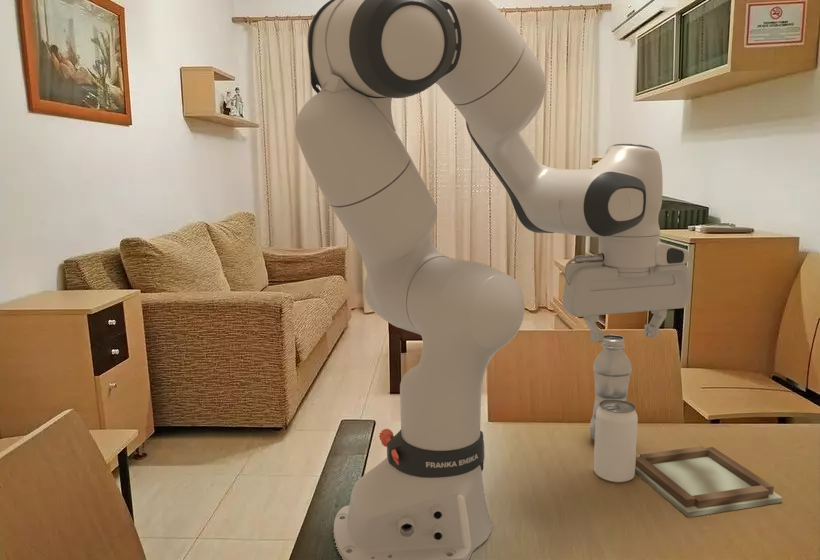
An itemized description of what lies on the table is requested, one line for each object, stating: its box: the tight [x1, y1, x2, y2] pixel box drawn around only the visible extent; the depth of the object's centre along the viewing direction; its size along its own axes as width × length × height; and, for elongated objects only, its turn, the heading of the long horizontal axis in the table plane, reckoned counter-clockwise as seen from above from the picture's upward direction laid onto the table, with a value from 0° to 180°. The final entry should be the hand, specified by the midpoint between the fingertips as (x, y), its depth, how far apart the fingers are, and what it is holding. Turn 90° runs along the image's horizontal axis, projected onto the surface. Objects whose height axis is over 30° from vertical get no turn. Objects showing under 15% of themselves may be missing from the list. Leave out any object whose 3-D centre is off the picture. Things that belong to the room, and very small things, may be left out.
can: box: [593, 399, 639, 484], centre depth 102 cm, size 6×6×12 cm
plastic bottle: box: [589, 334, 633, 442], centre depth 112 cm, size 6×7×20 cm
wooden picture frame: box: [635, 445, 783, 518], centre depth 99 cm, size 16×16×2 cm
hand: (624, 338), depth 98 cm, fingers open, 8 cm apart
